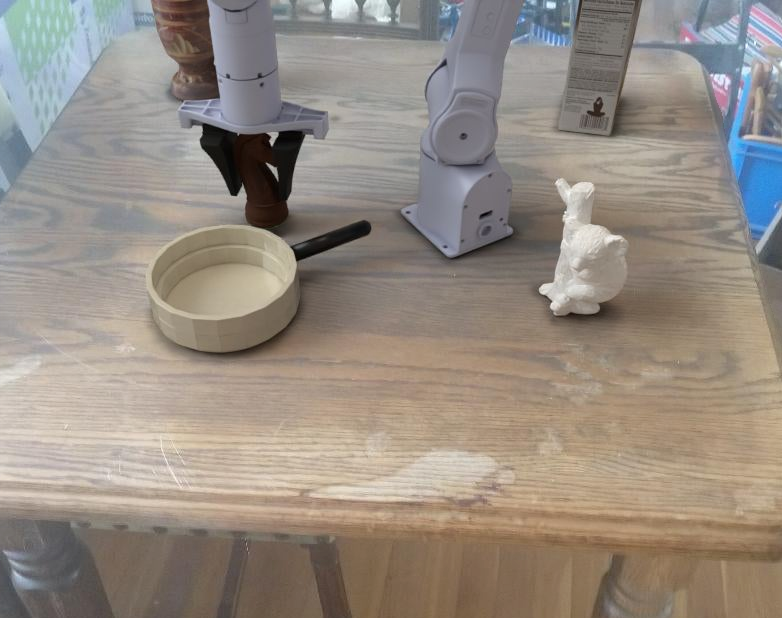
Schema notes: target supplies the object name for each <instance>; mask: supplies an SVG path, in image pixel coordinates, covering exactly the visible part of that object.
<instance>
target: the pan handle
mask: <svg viewBox="0 0 782 618" xmlns="http://www.w3.org/2000/svg"><path fill="white" fill-rule="evenodd" d="M372 228H373V227H372V224H371V222H370V221H368V220H367V219H360V220H358V221H356V222H355V221H354V222H352V223H349V224H347V225H344V226H342V227H339V228H337V229H333V230H331V231H328V232H325V233H322V234H320V235H317V236H314V237H312V238H309V239H306V240H303V241H301V242H298V243H295V244H293V245H289V247H290V248H291V249H292V250H293V252H294V255H295V259H296V262H297V263H298V262H300V261H302V260H306V259H309V258H311V257H314V256H317V255H319V254H321V253H324V252H327V251H330V250H332V249H335V248H337V247H341V246H343V245H345V244H346V245H347V244H349V243H351V242H354V241H357V240H359V239H362V238H365V237H367V236H369V235H370V234H371V232H372Z"/></svg>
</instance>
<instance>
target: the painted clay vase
mask: <svg viewBox="0 0 782 618" xmlns="http://www.w3.org/2000/svg"><path fill="white" fill-rule="evenodd" d="M150 4H151V9H152V12H153V18H154V22H155V27H156V31H157V34H158V36H159V40H160V42H161V44H162V47H163V49H164V52H165V54H167V56H168V57H169V58H171V59H172V60H173V61H175V62H176V63H177V64H178V68H179V69H178V71H177V72H176V73H175V74H174V75H173V76H172V78H171V84H170V86H171V88H170V89H171V91H170V92H171V93H172V95H173V97H175V98H176V99H178V100H180V101H183V102H184V101H185V100H188V101H199V100H210V99H218V98H220V93H219V86H218V79H217V72H216V66H215V59H214V51H213V44H212V37H211V30H210V24H209V17H210V12H209V7H208V3H207V0H150Z"/></svg>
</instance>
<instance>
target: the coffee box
mask: <svg viewBox="0 0 782 618" xmlns="http://www.w3.org/2000/svg"><path fill="white" fill-rule="evenodd" d="M642 3H643V0H578V6H577V12H576V17H575V24H574V31H573V34H572V41H571V46H570V47H571V48H570V53H569V54H570V55H569V58H568V65H567V71H566V78H565V83H564V89H563V95H562V101H561V106H560V113H559V119H558V120H559V121H558V126H557V129H558V130H559V131H565V132H572V133H573V132H574V133H581V134H582V133H583V134H589V135H591V134H592V135H599V136H608V137H610V136H611V135H612V132H613V128H614V125H615V121H616V118H617V115H618V114H617V113H618V109H619V104H620V101H621V97H622V92H623V88H624V84H625V80H626V75H627V71H628V68H629V62H630V57H631V53H632V49H633V45H634V40H635V35H636V31H637V26H638V22H639V18H640V12H641V9H642Z"/></svg>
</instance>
